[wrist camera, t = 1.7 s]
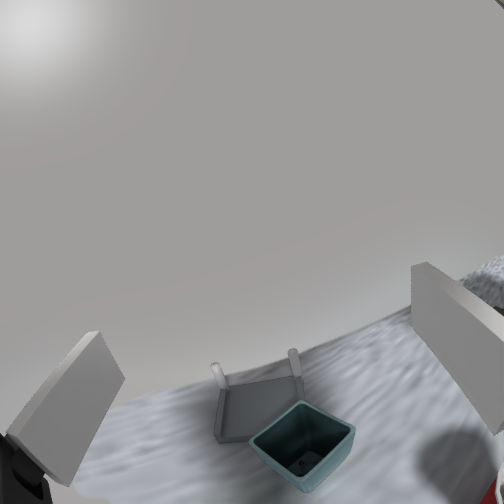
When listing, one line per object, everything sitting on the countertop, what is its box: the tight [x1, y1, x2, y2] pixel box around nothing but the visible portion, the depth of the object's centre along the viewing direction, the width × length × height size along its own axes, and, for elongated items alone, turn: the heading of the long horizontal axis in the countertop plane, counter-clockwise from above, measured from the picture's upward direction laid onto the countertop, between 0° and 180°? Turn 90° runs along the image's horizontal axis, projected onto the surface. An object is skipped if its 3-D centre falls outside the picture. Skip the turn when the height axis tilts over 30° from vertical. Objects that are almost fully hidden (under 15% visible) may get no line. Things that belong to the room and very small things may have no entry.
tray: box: [210, 349, 306, 443], centre depth 40 cm, size 15×12×8 cm
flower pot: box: [248, 400, 356, 493], centre depth 27 cm, size 9×9×9 cm
